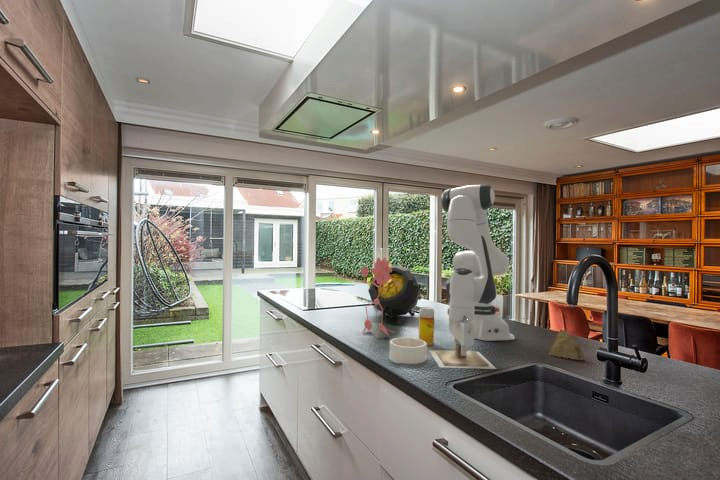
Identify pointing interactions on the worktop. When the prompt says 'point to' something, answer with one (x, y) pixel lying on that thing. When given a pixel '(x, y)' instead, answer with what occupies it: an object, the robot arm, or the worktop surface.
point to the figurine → (381, 276)
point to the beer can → (426, 325)
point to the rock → (566, 347)
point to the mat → (460, 366)
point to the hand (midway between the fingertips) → (460, 352)
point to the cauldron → (396, 293)
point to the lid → (461, 358)
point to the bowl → (408, 350)
